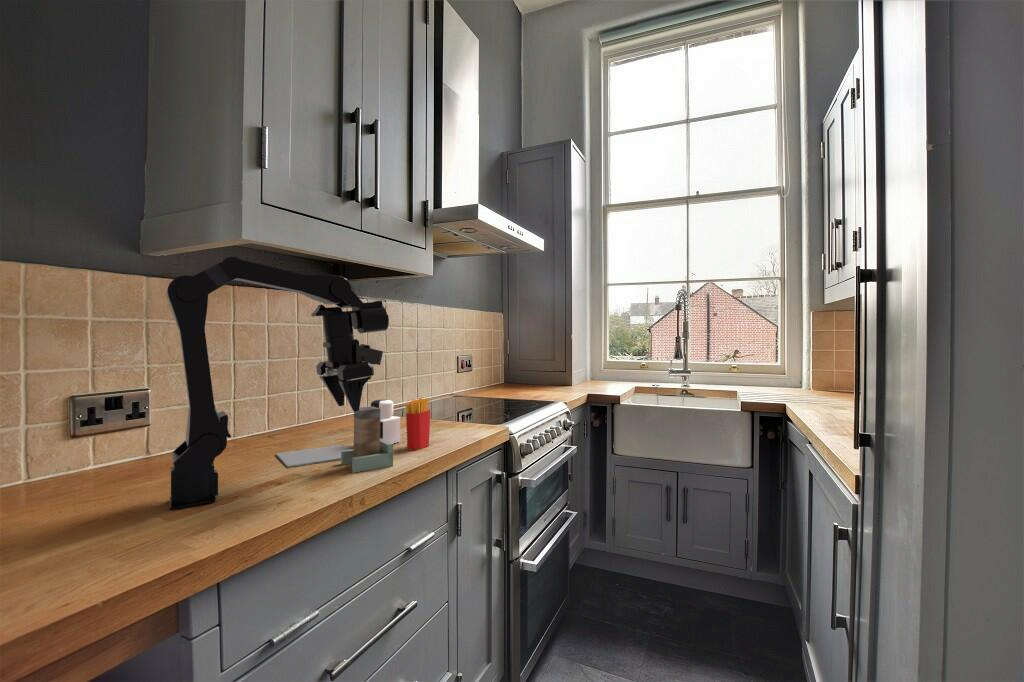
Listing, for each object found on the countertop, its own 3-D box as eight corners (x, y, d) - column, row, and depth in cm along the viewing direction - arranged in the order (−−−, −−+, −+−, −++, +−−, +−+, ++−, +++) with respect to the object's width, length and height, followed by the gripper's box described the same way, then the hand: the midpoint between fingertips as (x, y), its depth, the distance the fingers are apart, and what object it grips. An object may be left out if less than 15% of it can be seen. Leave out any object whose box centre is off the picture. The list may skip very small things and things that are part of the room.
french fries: (420, 442, 128) (420, 396, 128) (433, 444, 126) (433, 397, 126) (401, 450, 119) (401, 400, 119) (415, 451, 117) (415, 401, 117)
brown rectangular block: (360, 468, 102) (360, 410, 102) (353, 464, 106) (353, 408, 105) (380, 465, 105) (380, 408, 105) (372, 461, 108) (373, 406, 108)
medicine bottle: (362, 444, 125) (363, 400, 125) (381, 439, 132) (381, 397, 132) (382, 447, 122) (382, 402, 122) (400, 442, 128) (400, 399, 128)
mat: (287, 467, 102) (287, 466, 102) (275, 455, 114) (275, 453, 114) (359, 457, 112) (359, 455, 112) (341, 446, 123) (341, 444, 123)
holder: (353, 472, 99) (353, 449, 99) (341, 463, 106) (341, 442, 106) (392, 466, 104) (393, 444, 104) (378, 457, 111) (378, 437, 111)
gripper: (393, 331, 95) (402, 405, 96) (360, 332, 109) (368, 396, 111) (339, 338, 88) (349, 417, 89) (311, 337, 102) (320, 406, 104)
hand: (348, 408), depth 98 cm, fingers open, 9 cm apart
